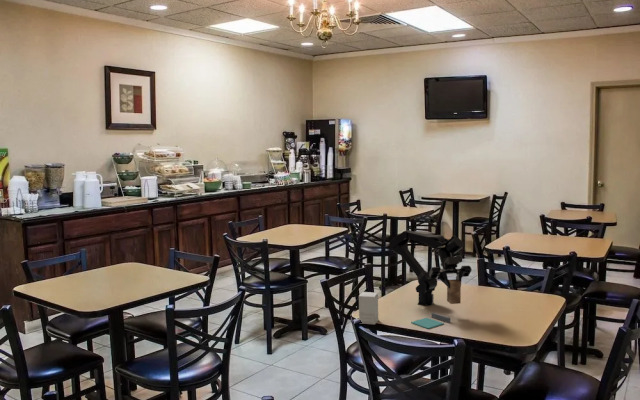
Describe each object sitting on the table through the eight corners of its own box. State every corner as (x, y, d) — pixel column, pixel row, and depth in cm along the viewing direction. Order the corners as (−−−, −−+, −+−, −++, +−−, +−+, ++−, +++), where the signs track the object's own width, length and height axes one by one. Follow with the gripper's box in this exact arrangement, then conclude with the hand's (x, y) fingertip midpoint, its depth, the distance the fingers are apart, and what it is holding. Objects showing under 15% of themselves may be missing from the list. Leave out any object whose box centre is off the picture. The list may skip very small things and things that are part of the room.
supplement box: (378, 319, 243) (378, 292, 242) (374, 325, 236) (374, 296, 235) (362, 318, 245) (362, 291, 244) (358, 323, 238) (358, 295, 237)
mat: (411, 323, 238) (411, 322, 238) (426, 318, 244) (426, 317, 244) (428, 329, 230) (428, 328, 230) (443, 324, 236) (443, 323, 235)
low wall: (431, 317, 245) (431, 312, 245) (433, 316, 246) (433, 312, 246) (448, 322, 237) (448, 318, 237) (450, 322, 238) (450, 317, 238)
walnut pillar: (450, 303, 244) (450, 282, 243) (447, 301, 248) (447, 279, 247) (460, 303, 244) (460, 281, 243) (456, 300, 249) (456, 279, 248)
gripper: (431, 250, 247) (439, 279, 237) (470, 248, 249) (480, 277, 239) (425, 263, 255) (433, 292, 245) (463, 261, 258) (472, 290, 248)
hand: (455, 287), depth 244 cm, fingers closed on walnut pillar, 5 cm apart
